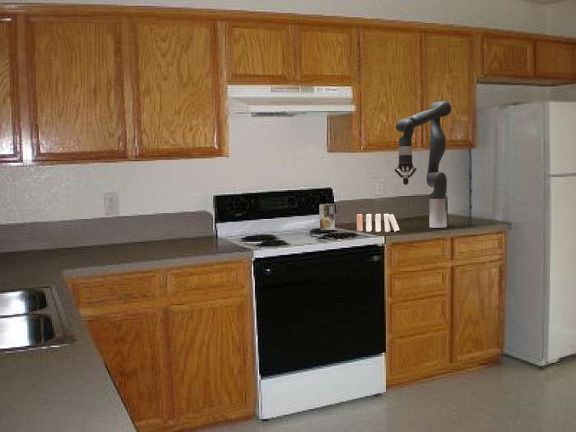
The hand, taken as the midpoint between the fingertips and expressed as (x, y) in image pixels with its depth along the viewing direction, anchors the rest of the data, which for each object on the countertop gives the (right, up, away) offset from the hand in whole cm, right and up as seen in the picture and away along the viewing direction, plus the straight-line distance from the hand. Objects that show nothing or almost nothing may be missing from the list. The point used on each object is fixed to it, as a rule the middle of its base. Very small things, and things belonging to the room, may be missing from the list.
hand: (405, 184), depth 347 cm
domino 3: (-15, -27, +7) cm, 32 cm away
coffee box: (-44, -27, +21) cm, 56 cm away
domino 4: (-9, -27, +5) cm, 29 cm away
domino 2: (-20, -27, +9) cm, 35 cm away
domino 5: (-4, -27, +4) cm, 27 cm away
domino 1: (-25, -27, +10) cm, 38 cm away
